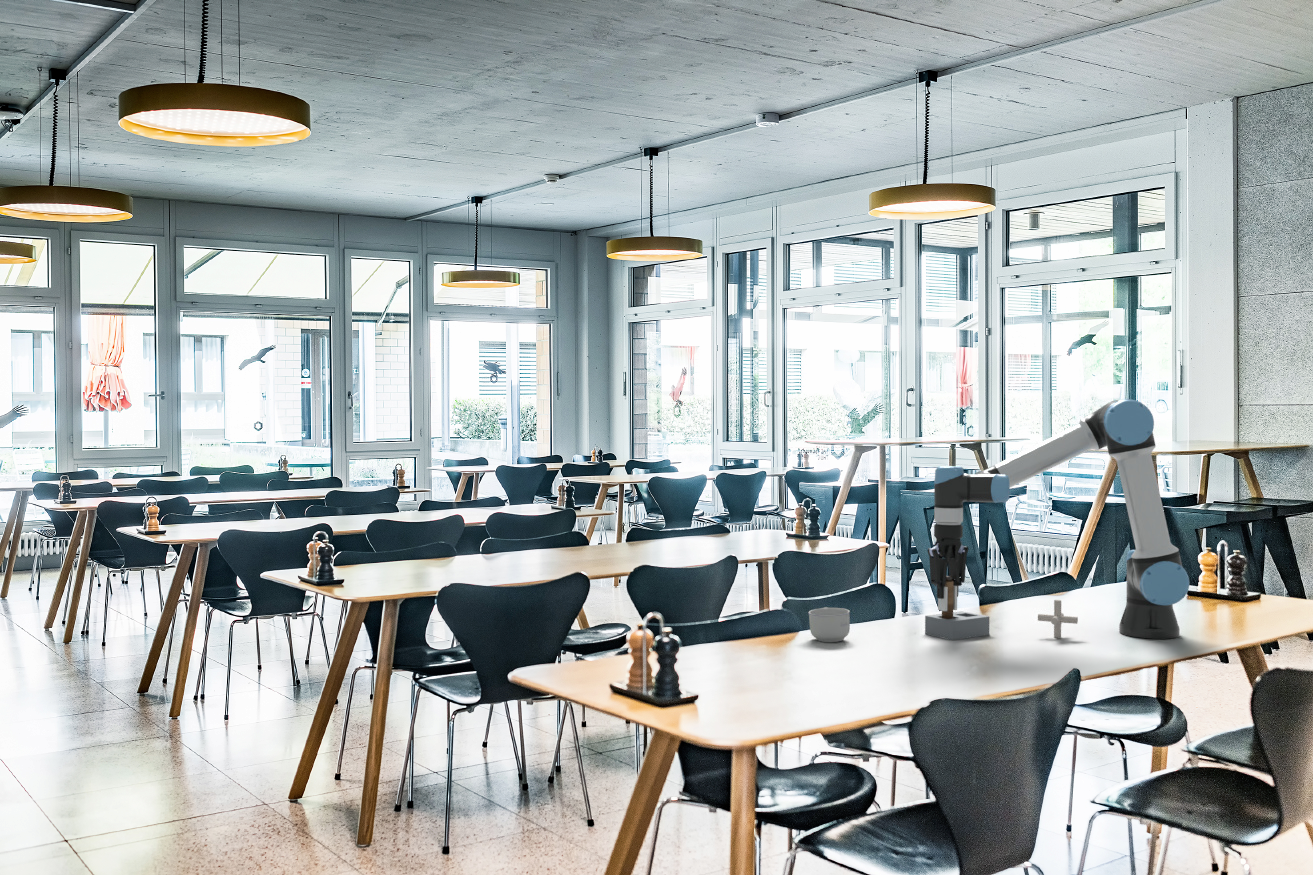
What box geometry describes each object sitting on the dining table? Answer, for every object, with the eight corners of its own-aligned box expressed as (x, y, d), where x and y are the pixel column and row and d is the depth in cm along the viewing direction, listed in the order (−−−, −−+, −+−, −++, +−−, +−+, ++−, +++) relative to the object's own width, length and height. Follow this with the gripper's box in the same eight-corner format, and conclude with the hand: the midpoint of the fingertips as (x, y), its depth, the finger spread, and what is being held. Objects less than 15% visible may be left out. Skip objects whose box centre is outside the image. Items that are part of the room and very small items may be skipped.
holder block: (989, 634, 317) (989, 616, 317) (952, 639, 310) (952, 621, 310) (961, 629, 326) (961, 611, 326) (925, 633, 319) (925, 615, 319)
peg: (955, 625, 316) (955, 576, 315) (947, 626, 314) (947, 577, 314) (947, 623, 318) (947, 575, 318) (939, 624, 317) (939, 576, 316)
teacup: (848, 645, 303) (849, 614, 303) (806, 643, 306) (807, 612, 306) (850, 635, 317) (851, 605, 317) (810, 633, 319) (810, 604, 319)
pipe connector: (1034, 638, 312) (1035, 601, 312) (1041, 632, 321) (1041, 596, 321) (1074, 642, 307) (1074, 604, 307) (1079, 635, 316) (1080, 598, 316)
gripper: (959, 520, 323) (958, 605, 324) (916, 523, 315) (915, 610, 315) (979, 523, 317) (979, 609, 317) (936, 525, 308) (936, 614, 309)
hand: (947, 609), depth 316 cm, fingers closed on peg, 3 cm apart
